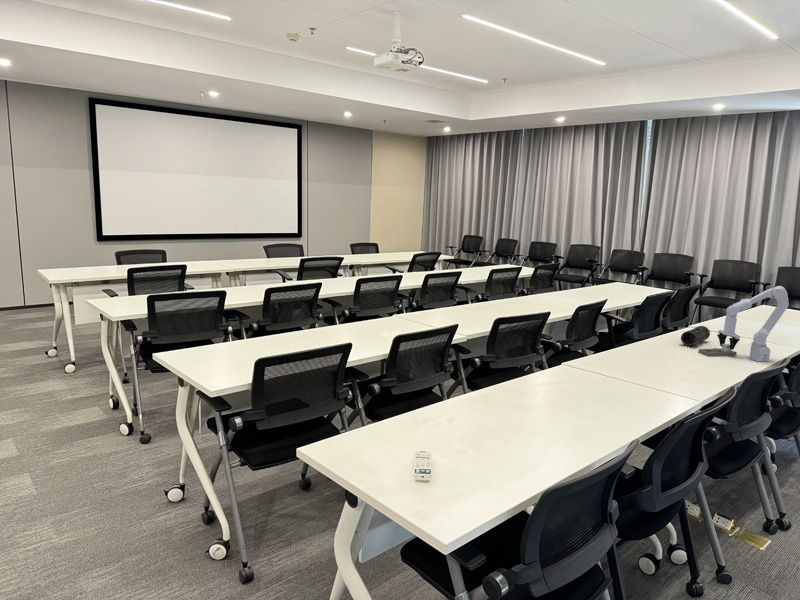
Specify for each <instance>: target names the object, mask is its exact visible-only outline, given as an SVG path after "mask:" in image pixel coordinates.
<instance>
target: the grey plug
mask: <svg viewBox="0 0 800 600" xmlns="http://www.w3.org/2000/svg"><path fill="white" fill-rule="evenodd" d="M720 349H721V350H723V351H726V352H731V350H730V343H725V344H722V346H721V348H720Z"/></svg>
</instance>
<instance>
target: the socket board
mask: <svg viewBox="0 0 800 600" xmlns="http://www.w3.org/2000/svg"><path fill="white" fill-rule="evenodd" d="M697 352H698V354H700V353H701V355H704V356H707V357H736V356H737V353H738V351H734V350H731V352H726V351H723V350H721V348H698V351H697ZM735 355H736V356H735Z"/></svg>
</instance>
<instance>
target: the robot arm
mask: <svg viewBox="0 0 800 600" xmlns="http://www.w3.org/2000/svg"><path fill="white" fill-rule="evenodd" d="M788 294H789V293H788V292H787V290H786V288H785V287H784V286H782V285H776V286H774V287H771V288H768V289H766V290H763V292H760V293H759V294H757V295H755V296H753V297H750V298H749V299H748V298H741V299H740V301H738V302H736V303H732V305H729V306H727V308H726V314H725V319H724V326H723V329H718V331H717V333H718V334H717V335H716V336H717V338H718V341H719V346H720V347H722V344H726V339H727V337H729V339H728V340H729V345H730V350H732V351H734V350H735V347H736V346H737V344H738V343H739V341H740V339H741V335H738V334H737V333H736V326H737V320H738V319H737V316H738V313H741V312H745V311H747V310H749V309H751V308H752V306H753V304H756V303H757V302H761V301H763V300H764V299H767V298H768V299H769V298H770V299H772V298H774V299H775V300H776V302H777V305H776V307H775V308H774V309H773V311H772V312H771V314H770V315H769V317H768V318H767V320H766V321H765V322H764V324H763V325H762V327H761V328H760V329H759V331H757V332H756V333H754V335H753V338H752V342H751V344H750V352H749V356H745V358H747V359H749V358H750V360H753V361H755V362H759V363H760V362H761V363H763V362H766V363H767V362H769V363H770V356H771V348H770V347H768V345H767V339H768V337H769V335H770V333H771V331H772V330H773V329H774V327H775V326H776V324H777V323H778V321H779V320H780V318H781V317H782V316H783V315H784V313H785V311H786V310H787V309H788V307H789V305H790V304H789V297H788V296H789V295H788Z"/></svg>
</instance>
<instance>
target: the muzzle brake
mask: <svg viewBox="0 0 800 600" xmlns="http://www.w3.org/2000/svg"><path fill="white" fill-rule="evenodd" d="M710 335H711V331H710V329H709V327H707V326H705V325H698V326H695V328H692V329H689V330H687V331H685V332H683V333H682V334H681V336H680V340H681V342H682V343H683V345H686V347H688V348H689V347H691V346H693V345H696V344H697V343H699V344H700V342H703V341H706V340H708V339H709V338H710Z"/></svg>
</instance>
